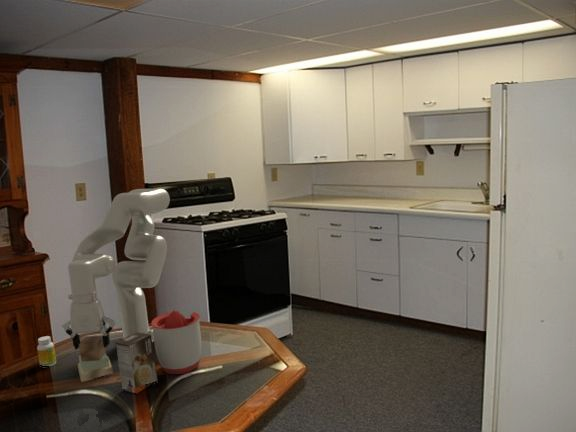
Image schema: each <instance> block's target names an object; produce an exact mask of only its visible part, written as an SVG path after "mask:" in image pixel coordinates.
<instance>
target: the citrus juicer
mask: <svg viewBox="0 0 576 432" xmlns="http://www.w3.org/2000/svg"><path fill="white" fill-rule="evenodd" d="M200 319H201V318H200V314H199V313H197V312H195V311H193V312H192V313H191V314H190V317H188V318H186V317H185V316H184V315H183V314H182V313H180V311H179V310H175V309H173V311H170V312H166V313H162V314H160V315H159V316H156V317H155V318H153V319H152V320H151V323H150V324H151V326H152V329H153V335H154V342H153V343H154V349H155V353H156V357H157V360H158V362H159V365H160V367H161V369H162V370H163V371H164V372H165V374H169V375H181V374H188V373H189V372H192V371H193V370H195V369H196V368H197V367H198V366H199V364H200V360H201V354H202V335H201V325H200Z"/></svg>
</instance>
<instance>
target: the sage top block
mask: <svg viewBox="0 0 576 432" xmlns="http://www.w3.org/2000/svg"><path fill="white" fill-rule="evenodd" d="M108 357H109V356H108ZM108 357H107V352H106V353H105V354H104V355H103V357H102V358H101V359H100V360H97V361H81V355H78V360H79V363H80V365H81V367H82V370H83V372H84V373H85V372H89V371H93V370H96V369H100V368H104V367H107V366H109V361H108Z"/></svg>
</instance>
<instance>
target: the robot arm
mask: <svg viewBox="0 0 576 432" xmlns="http://www.w3.org/2000/svg"><path fill="white" fill-rule="evenodd" d="M170 199H171V198H170V195H169V193H168V191H167V190H166V189H164V188H137V189H133V190H130V191H129V192H122V193H118V194H117V195H115V196H114V197H113V200H112V202H111V204H110V206H109V208H108V210H107V212H106V214H105V216H104V219H103V221H102V222H101V225H99V226H98V227H97V228H95V229H94V230H93V231H91V232H90V233H89V234H88V235H87V236H86V237H85V238H84V239H83V240H82V241H81V242H80V244H78V247H77V249H76V250H75V253H74V255H73V258H72V259H71V260H72V261H71V262H69V264H68V265H67V269H68V278H69V282H70V283H69V284H70V290H71V294H69V295H68V296H67V297H68V300H71V303H70V311H69V312H70V313H69V318H70V320H68V321H67V322H65V323H63V324H62V329H63V330H64V331H65V333H66V334H67V335H68V336H70V338H71V339H72V345H73V347H74V350H78V349H79V344H80V343H81V338H80V335H79V334H91V333H101V335H102V336H103V337H102V339H103V346H104V348H105V349H106V348H107V347H108V346H109V345H110V343H111V340H110V333H111V332H112V330H113V329H114V327H115V325H116V321H115V320H114V319H111V318H109V317H107V316H105V313H104V308H103V305H102V302H101V299H99V298H98V292H97V285H96V280H97V279H99V278H104V277H107V276H109V275H111V279H112V282H113V284H114V287H115V291H116V295H117V299H118V300H117V301H118V306H119V315H120V322H121V328H122V329H121V330H122V337H123V338H122V339H124V338H126V337H128V336H130V335H132V334H135V333H137V332H139V333H145V334H150V335H151V338H152V344H153V343H154V335H153V328H150V326H149V320H148V318H149V317H148V311H147V310H148V309H147V303H146V296H145V293H144V291H143V289H147V288H148V289H150V288H154V287H156V285H157V284H158V283H159V281H160V278H161V274H162V271H163V268H164V264H165V261H166V258H167V254H168V253H167V252H168V245H167V241H166V239H165V237H163V236H161V235H158V234H154V231H155V222H154V219H153V217H152V216H151V215H154V214H157V213H158V214H159V213H160V212H161V213H162V212H163V211H165V210H166V209H167V208H168V207H169V205H170ZM130 223H131V226H130V230H129V234H128V235H127V238H126V242H125V246H124V255H125V257H126V258H128V259H130V260H131V261H130V260H123V261H120V262H117V263H116V262H115V260H114V257H113V256H111V255H109V254H106V253H105V254H104V253H103V254H102V253H97V251H99V250H100V249H101V248H103V247H104V246H106V245H109V244H111V243H113V242H115V241H117V240H120V239H121V238H123V237H124V236H125V234H126V231H127V229H128V227H129V225H130ZM106 324H108V325H109V326H108V327H107V326H106Z"/></svg>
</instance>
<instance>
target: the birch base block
mask: <svg viewBox="0 0 576 432" xmlns="http://www.w3.org/2000/svg"><path fill="white" fill-rule="evenodd" d="M107 357H108V361H109V366H107V367H104V368H100V369H96V370H93V371H89V372H85V373H84V372H83V370H82V367H81V365H80V362H78V363H77V368H78V369H77V370H78V373H79V378H80V383H84V382H87V381H91V380H95V379H94V378H96V377H98V376H100V375H104V374H108V373H113V374H114V370H113V365H112V363H111V360H110V358H109V356H107ZM96 379H97V378H96Z"/></svg>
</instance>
